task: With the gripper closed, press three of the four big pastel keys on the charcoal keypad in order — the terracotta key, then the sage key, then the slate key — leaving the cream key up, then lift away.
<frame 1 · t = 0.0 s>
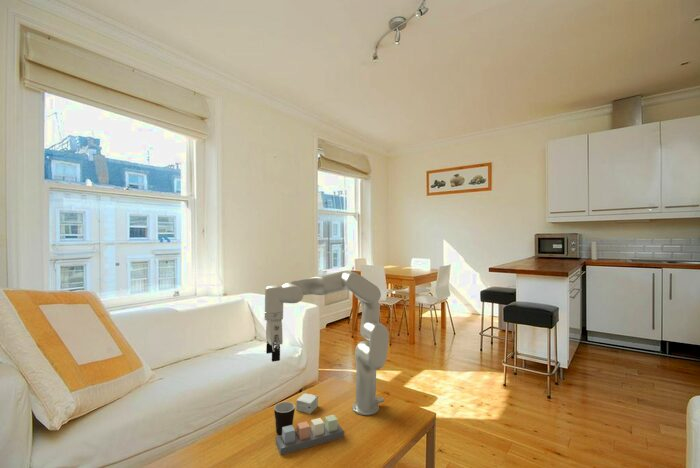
hand: (272, 356, 134), 31 cm above the table, fingers open, 9 cm apart
keypad: (310, 440, 129), on the table
coffee mug: (285, 429, 136), on the table
key cream: (317, 427, 130), point 4 cm above the table, slide at 0.0 cm
small box: (307, 408, 153), on the table
key sage: (331, 423, 133), point 4 cm above the table, slide at 0.0 cm
key slate: (288, 434, 125), point 4 cm above the table, slide at 0.0 cm
key terracotta: (303, 430, 127), point 4 cm above the table, slide at 0.0 cm
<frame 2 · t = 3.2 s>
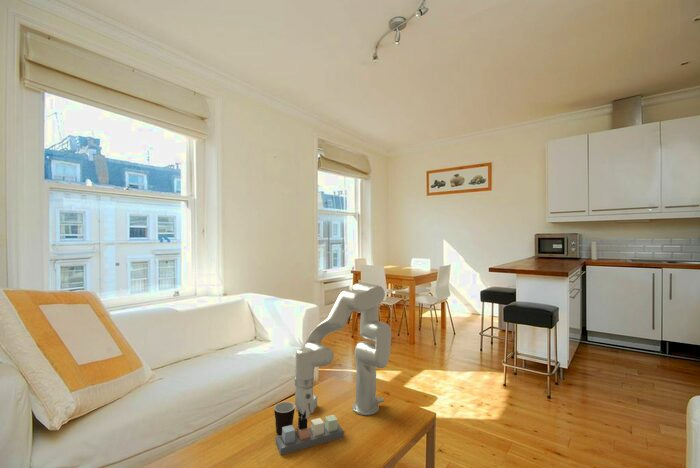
hand: (302, 427, 127), 6 cm above the table, fingers closed
key terracotta: (303, 433, 127), point 3 cm above the table, slide at -1.0 cm, touching gripper
everything else where it was.
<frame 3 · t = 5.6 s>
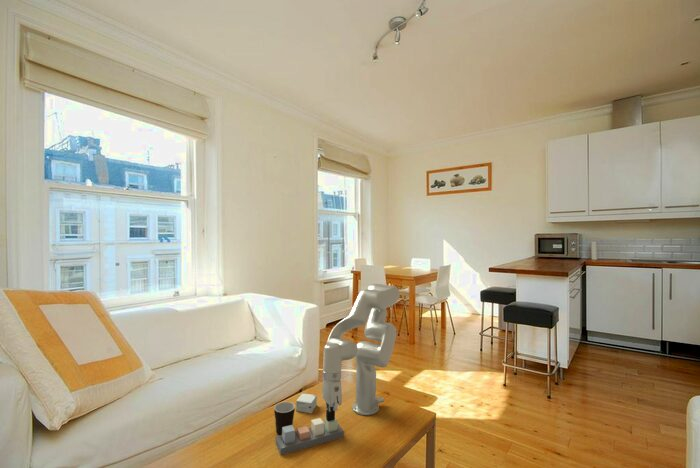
hand: (330, 419, 133), 6 cm above the table, fingers closed
key sage: (331, 424, 133), point 4 cm above the table, slide at -0.5 cm, touching gripper
key terracotta: (303, 435, 127), point 3 cm above the table, slide at -1.8 cm
everything else where it was.
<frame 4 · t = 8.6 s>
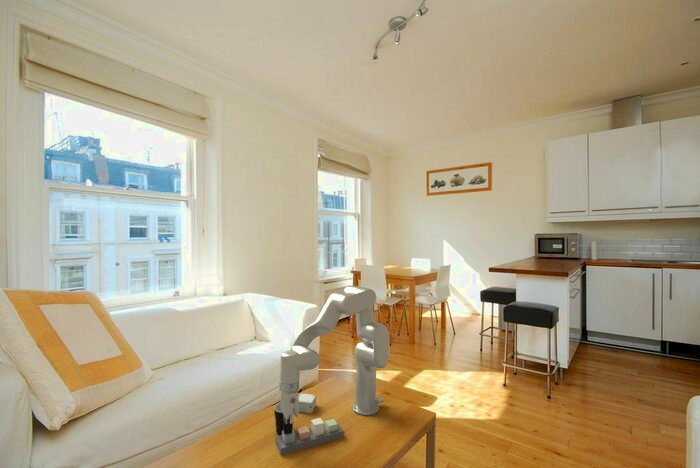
hand: (287, 432, 125), 5 cm above the table, fingers closed
key sage: (330, 428, 133), point 3 cm above the table, slide at -1.9 cm
key slate: (288, 438, 125), point 3 cm above the table, slide at -1.4 cm, touching gripper
everything else where it was.
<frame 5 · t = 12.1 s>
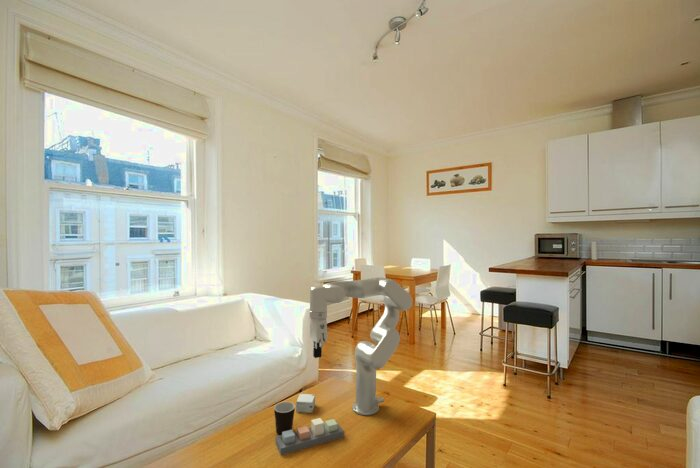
hand: (317, 356, 140), 29 cm above the table, fingers closed
key slate: (288, 439, 125), point 3 cm above the table, slide at -1.8 cm
at the end: key terracotta slide at -1.8 cm; key sage slide at -1.9 cm; key slate slide at -1.8 cm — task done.
